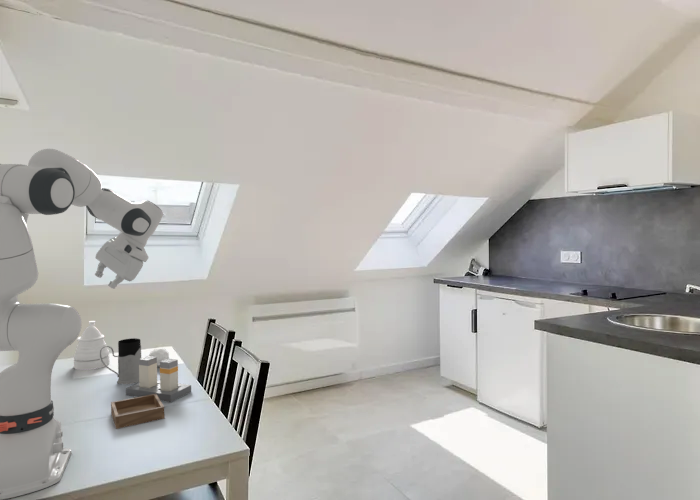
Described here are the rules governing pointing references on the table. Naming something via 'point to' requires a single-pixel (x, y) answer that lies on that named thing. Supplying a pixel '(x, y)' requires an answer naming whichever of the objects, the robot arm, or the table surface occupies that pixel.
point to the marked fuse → (169, 375)
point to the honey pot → (91, 349)
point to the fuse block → (159, 392)
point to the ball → (159, 355)
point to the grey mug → (127, 360)
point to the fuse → (148, 372)
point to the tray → (137, 410)
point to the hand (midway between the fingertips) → (104, 281)
